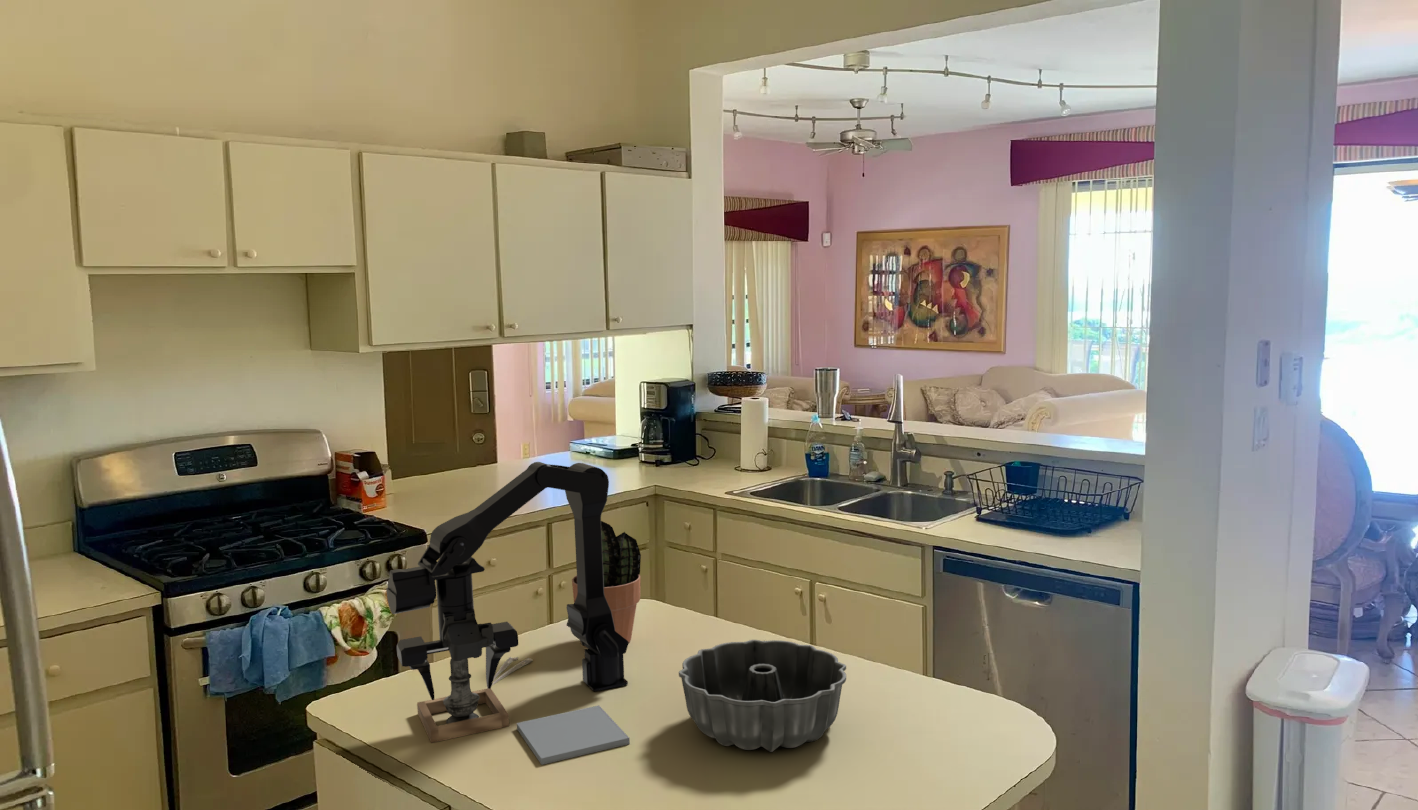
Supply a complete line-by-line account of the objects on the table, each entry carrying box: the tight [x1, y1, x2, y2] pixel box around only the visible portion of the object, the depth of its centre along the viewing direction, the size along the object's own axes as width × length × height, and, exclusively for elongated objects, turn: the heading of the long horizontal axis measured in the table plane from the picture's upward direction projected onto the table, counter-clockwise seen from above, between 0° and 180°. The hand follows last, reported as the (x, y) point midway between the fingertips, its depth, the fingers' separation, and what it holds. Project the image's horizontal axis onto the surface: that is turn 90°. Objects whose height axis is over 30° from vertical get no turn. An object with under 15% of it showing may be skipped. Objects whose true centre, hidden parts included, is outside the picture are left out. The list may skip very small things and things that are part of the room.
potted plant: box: [571, 520, 642, 644], centre depth 198 cm, size 14×14×25 cm
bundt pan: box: [678, 639, 847, 753], centre depth 158 cm, size 26×26×10 cm
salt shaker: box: [443, 658, 480, 724], centre depth 164 cm, size 6×6×12 cm
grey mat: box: [516, 704, 631, 766], centre depth 157 cm, size 14×14×1 cm
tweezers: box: [492, 656, 534, 686], centre depth 183 cm, size 18×5×2 cm, turn 163°
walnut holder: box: [416, 687, 510, 744], centre depth 165 cm, size 12×12×2 cm
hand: (461, 693), depth 164 cm, fingers open, 9 cm apart
